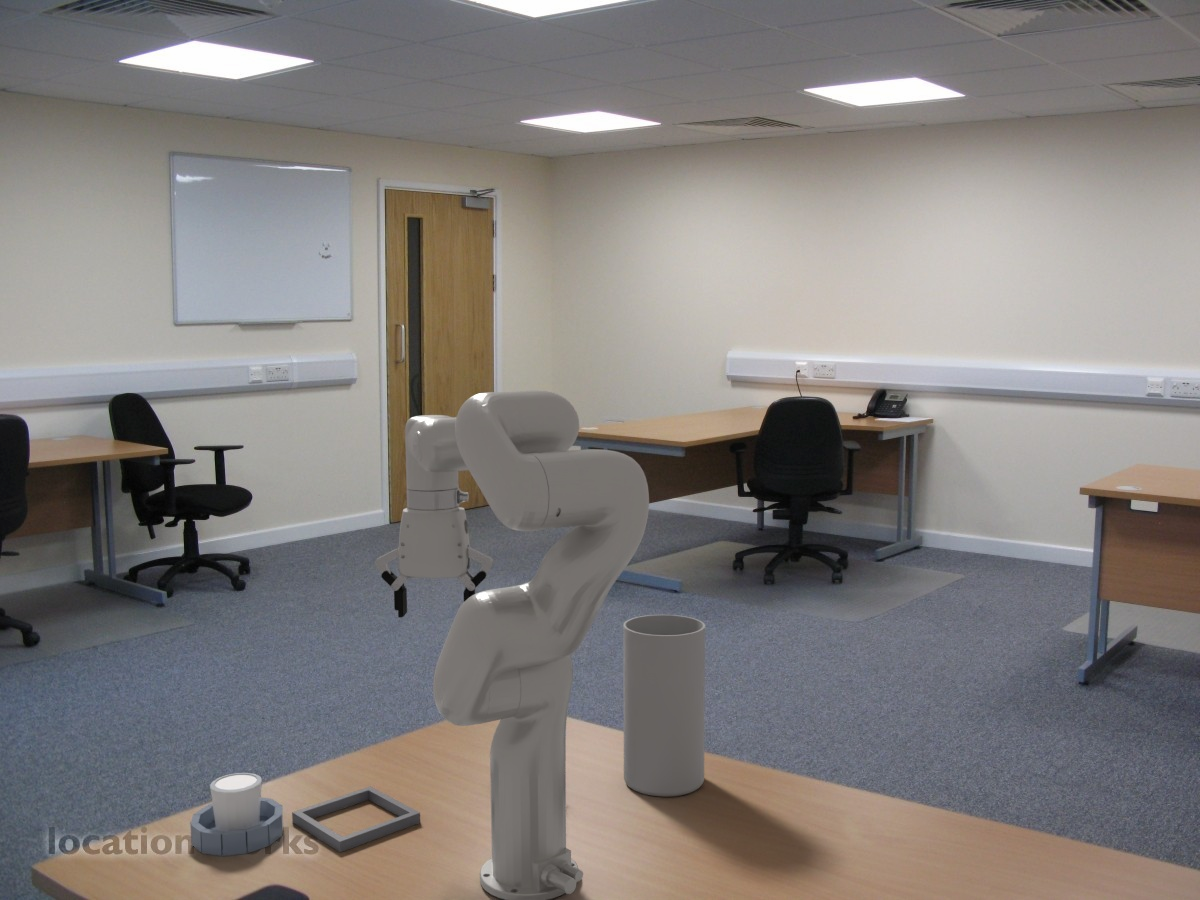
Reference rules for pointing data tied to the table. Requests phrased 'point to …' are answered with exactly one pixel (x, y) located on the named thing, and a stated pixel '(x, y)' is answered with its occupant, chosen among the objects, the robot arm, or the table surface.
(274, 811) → the bowl
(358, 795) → the grey square frame
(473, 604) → the robot arm
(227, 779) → the white cup
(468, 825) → the table surface
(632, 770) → the cylinder vase
